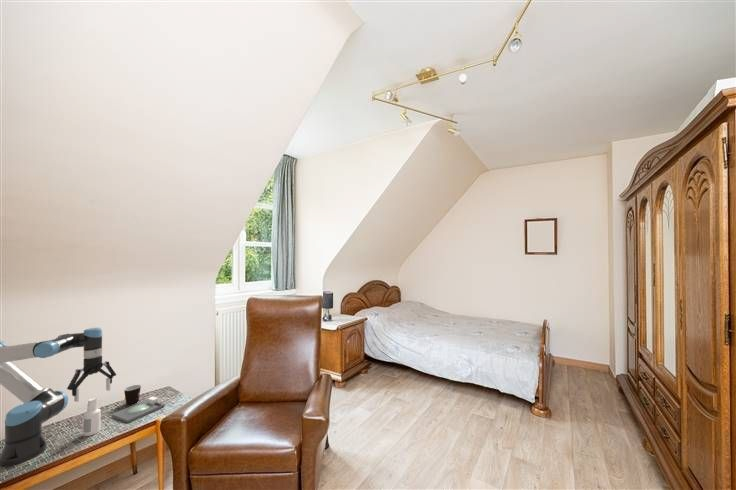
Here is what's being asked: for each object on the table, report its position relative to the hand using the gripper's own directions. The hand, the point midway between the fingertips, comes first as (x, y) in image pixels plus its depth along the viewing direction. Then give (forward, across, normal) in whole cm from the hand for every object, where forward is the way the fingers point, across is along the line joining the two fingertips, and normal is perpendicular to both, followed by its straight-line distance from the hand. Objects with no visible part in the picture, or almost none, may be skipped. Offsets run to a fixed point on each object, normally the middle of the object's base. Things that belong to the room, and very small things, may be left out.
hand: (92, 395), depth 160 cm
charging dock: (+20, +23, +1) cm, 30 cm away
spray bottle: (+20, 0, 0) cm, 20 cm away
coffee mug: (+20, +29, +18) cm, 40 cm away
